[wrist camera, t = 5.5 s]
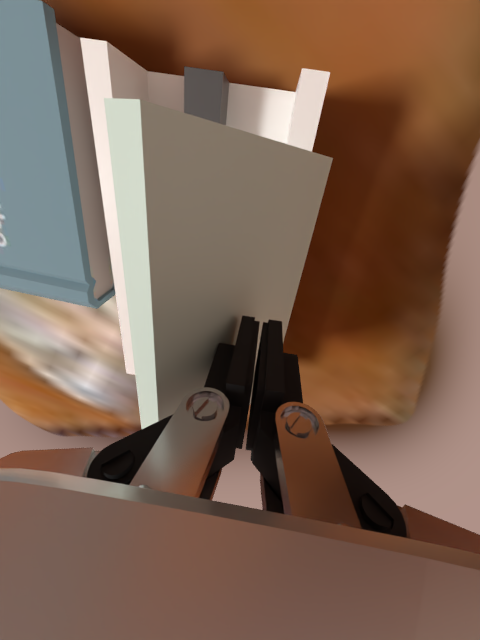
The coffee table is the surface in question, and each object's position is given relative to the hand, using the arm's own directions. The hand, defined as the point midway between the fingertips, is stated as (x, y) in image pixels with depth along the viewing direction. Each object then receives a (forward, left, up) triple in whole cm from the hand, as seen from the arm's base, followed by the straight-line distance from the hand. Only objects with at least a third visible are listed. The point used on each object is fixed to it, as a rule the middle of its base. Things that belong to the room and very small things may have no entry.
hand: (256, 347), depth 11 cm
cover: (0, -1, -2) cm, 2 cm away
